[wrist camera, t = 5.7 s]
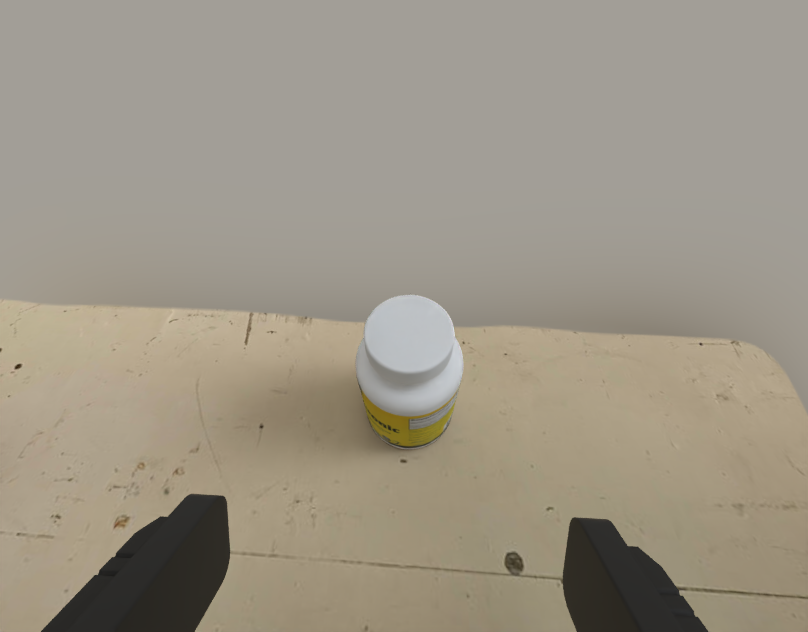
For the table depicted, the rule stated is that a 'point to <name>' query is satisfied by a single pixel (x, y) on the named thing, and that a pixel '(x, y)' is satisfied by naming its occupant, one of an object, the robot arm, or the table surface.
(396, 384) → the supplement bottle
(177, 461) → the table surface
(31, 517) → the table surface
